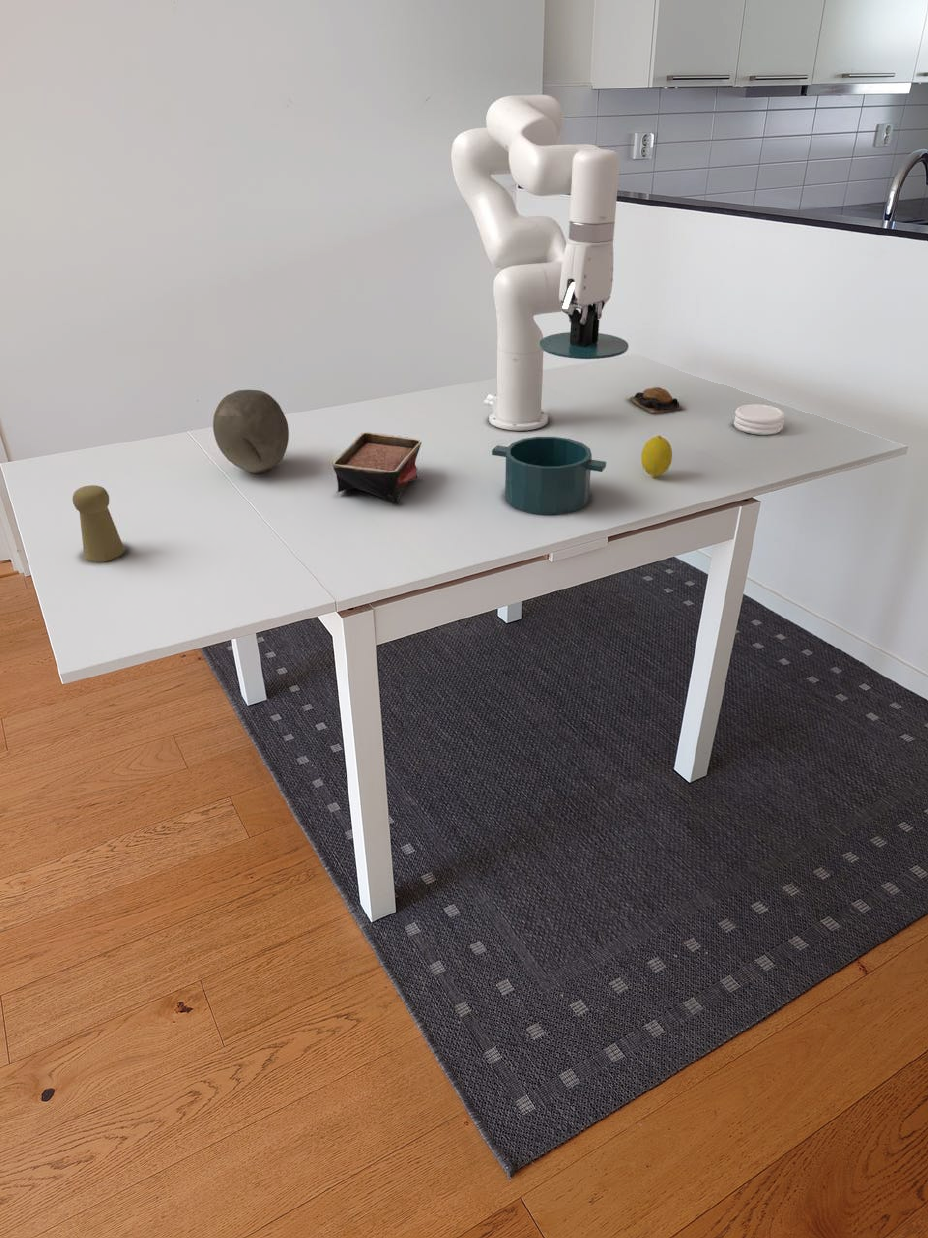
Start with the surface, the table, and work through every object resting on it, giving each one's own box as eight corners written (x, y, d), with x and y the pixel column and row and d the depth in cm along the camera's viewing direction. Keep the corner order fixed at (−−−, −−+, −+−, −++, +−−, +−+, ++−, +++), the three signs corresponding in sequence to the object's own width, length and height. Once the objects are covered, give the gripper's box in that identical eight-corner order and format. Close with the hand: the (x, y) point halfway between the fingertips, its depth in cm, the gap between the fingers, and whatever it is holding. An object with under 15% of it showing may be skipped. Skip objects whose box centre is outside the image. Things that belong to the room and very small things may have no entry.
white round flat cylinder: (788, 424, 187) (791, 408, 186) (774, 438, 180) (777, 422, 179) (741, 416, 192) (744, 400, 190) (726, 430, 185) (729, 413, 183)
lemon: (669, 484, 161) (674, 442, 157) (638, 481, 162) (642, 440, 158) (669, 472, 166) (674, 431, 162) (639, 470, 167) (643, 429, 163)
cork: (90, 545, 143) (73, 481, 137) (128, 543, 143) (113, 479, 137) (79, 562, 138) (62, 497, 132) (119, 561, 138) (103, 495, 132)
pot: (508, 473, 166) (509, 430, 162) (612, 490, 159) (616, 445, 155) (478, 503, 155) (478, 457, 150) (588, 523, 148) (592, 475, 143)
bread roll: (627, 400, 202) (628, 384, 200) (659, 396, 204) (661, 380, 202) (651, 414, 193) (652, 398, 192) (684, 410, 196) (686, 393, 194)
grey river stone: (308, 462, 172) (300, 385, 164) (265, 489, 161) (254, 408, 153) (248, 451, 177) (237, 376, 169) (203, 476, 166) (189, 398, 158)
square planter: (432, 486, 166) (430, 432, 163) (395, 510, 151) (391, 452, 147) (362, 482, 171) (358, 430, 167) (319, 506, 155) (314, 449, 152)
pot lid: (556, 334, 168) (558, 300, 165) (638, 343, 162) (641, 308, 159) (526, 356, 156) (527, 320, 153) (613, 366, 150) (616, 330, 147)
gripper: (600, 224, 156) (592, 330, 166) (544, 236, 146) (539, 349, 156) (636, 228, 152) (626, 337, 162) (581, 241, 141) (574, 357, 151)
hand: (583, 342), depth 158 cm, fingers closed on pot lid, 2 cm apart
